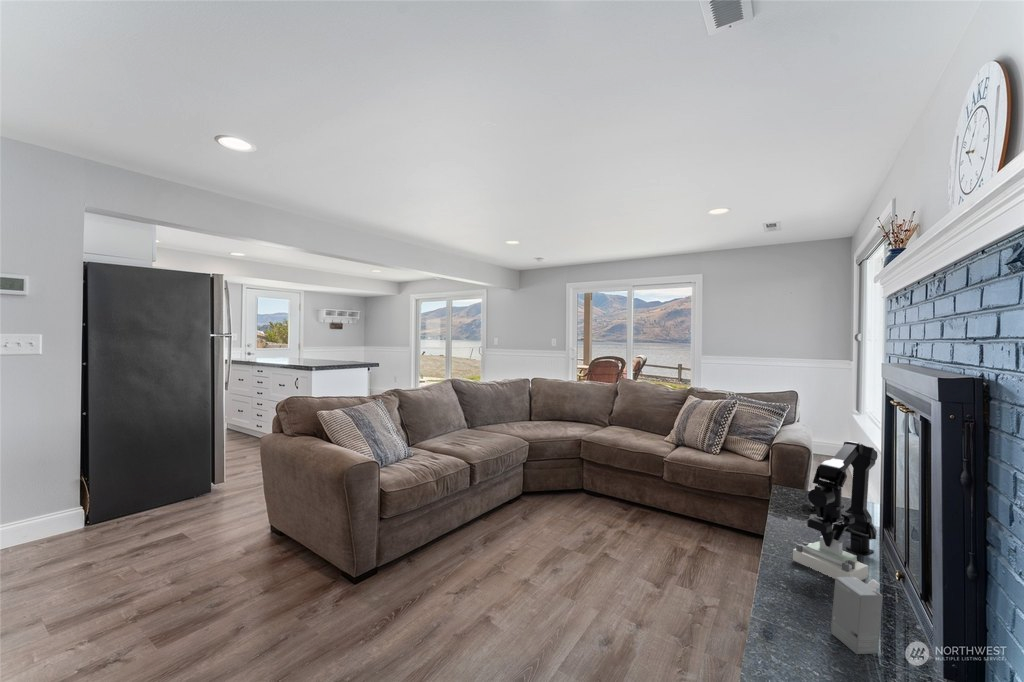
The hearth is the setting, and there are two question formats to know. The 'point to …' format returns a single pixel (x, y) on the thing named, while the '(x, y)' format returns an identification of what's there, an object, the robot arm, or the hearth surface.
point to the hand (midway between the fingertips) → (830, 545)
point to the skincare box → (856, 615)
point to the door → (830, 552)
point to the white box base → (829, 564)
